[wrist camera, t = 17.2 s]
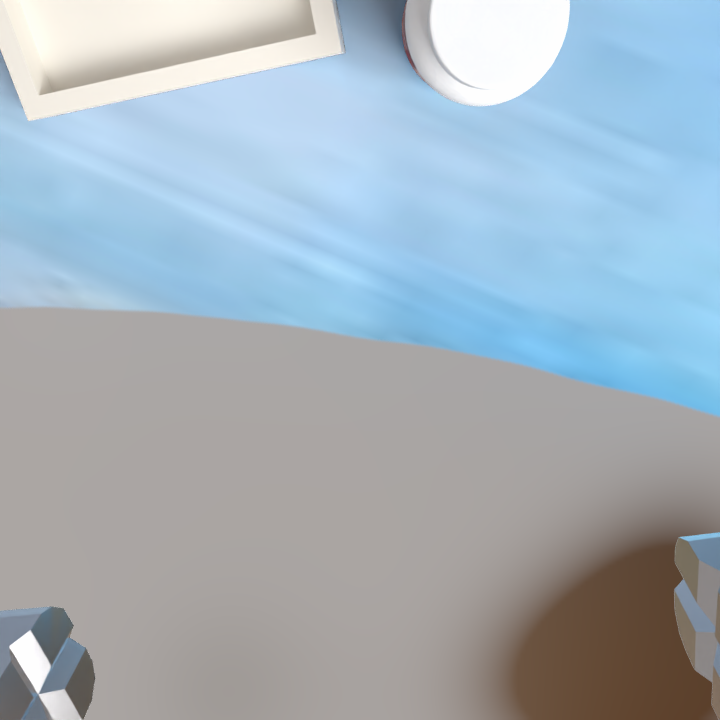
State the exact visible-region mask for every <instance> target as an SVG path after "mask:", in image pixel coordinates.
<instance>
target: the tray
mask: <svg viewBox="0 0 720 720" xmlns="http://www.w3.org/2000/svg"><path fill="white" fill-rule="evenodd" d="M0 50H1V52H2V55H3V57H4V60H5V62H6V65H7V67H8V70H9V73H10V75H11V78H12V80H13V83H14V85H15V88H16V91H17V93H18V96H19V98H20V101H21V103H22V106H23V109H24V111H25V114H26V116H27V119H28V121H31V120H37V119H42V118H48V117H53V116H58V115H63V114H67V113H72V112H76V111H81V110H86V109H90V108H95V107H99V106H104V105H109V104H113V103H118V102H122V101H127V100H132V99H136V98H141V97H146V96H150V95H155V94H159V93H164V92H169V91H173V90H178V89H182V88H187V87H192V86H196V85H201V84H205V83H210V82H215V81H219V80H224V79H229V78H233V77H238V76H242V75H247V74H252V73H256V72H261V71H265V70H270V69H275V68H279V67H284V66H288V65H293V64H298V63H302V62H307V61H312V60H316V59H321V58H325V57H330V56H335V55H339V54H344V53H346V52H345V46H344V41H343V35H342V30H341V25H340V19H339V14H338V8H337V3H336V0H0Z"/></svg>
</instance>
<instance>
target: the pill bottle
mask: <svg viewBox="0 0 720 720" xmlns="http://www.w3.org/2000/svg"><path fill="white" fill-rule="evenodd" d="M569 9H570V2H569V0H407V1H406V4H405V8H404V12H403V19H402V37H403V44H404V48H405V51H406V54H407V57H408V59H409V61H410V63H411V65H412V67H413V69H414V70H415V72H416V73H417V74H418V75H419V76H420V77H421V79H422V80H423V81H425V82H426V83H427V84H428V85H429V86H430V87H431V88H432V89H434V90H435V91H436V92H438V93H439V94H440V95H442V96H444V97H446V98H447V99H449V100H452V101H454V102H457V103H460V104H464V105H469V106H489V105H495V104H499V103H503V102H506V101H508V100H511V99H513V98H515V97H517V96H519V95H521V94H522V93H524V92H525V91H527V90H528V89H530V88H531V87H532V86H533V85H535V84H536V83H537V82H538V81H539V80H540V79H541V78H542V77H543V75H544V74H545V73H546V72H547V71H548V69H549V68H550V66H551V65H552V64H553V62H554V60H555V58H556V57H557V55H558V53H559V51H560V49H561V46H562V44H563V41H564V38H565V35H566V31H567V27H568V21H569Z"/></svg>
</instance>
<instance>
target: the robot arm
mask: <svg viewBox="0 0 720 720" xmlns="http://www.w3.org/2000/svg"><path fill="white" fill-rule="evenodd" d="M675 563H676V565H677V567H678V569H679V571H680V573H681V575H682V577H683V578H684V579H683V580H682V581H681V583H680V584H679V585H678V586H677V587H676V588H675V590H674V594H675V596H674V597H675V613H676V618H677V624H678V629H679V633H680V636H681V639H682V642H683V644H684V647H685V650H686V652H687V654H688V657H689V658H690V661H691V663H692V665H693V667H694V669H695V671H697V672H698V673H700V674H701V675H702V676H704V677H706V678H707V679H708V680H710V681H711V682H712V707H713V709H714V711H715V713H716V715H717V717H718V719H719V720H720V532H719V533H712V534H703V535H694V536H686V537H679V538H678V541H677V543H676V546H675ZM73 626H74V625H73V623H72V622H71V620H70V618H69V617H68V615H67V613H66V612H65V610H64V609H63V608H58V607H41V608H29V609H16V610H4V611H0V720H83V719H84V717H85V715H86V713H87V710H88V708H89V706H90V704H91V701H92V696H93V690H94V683H95V673H94V667H93V662H92V659H91V658H90V655H89V653H88V651H87V649H86V648H85V647H83V646H81V645H80V644H79V643H77V642H76V641H74V640H72V639H71V638H70V635H71V632H72V629H73Z"/></svg>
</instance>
